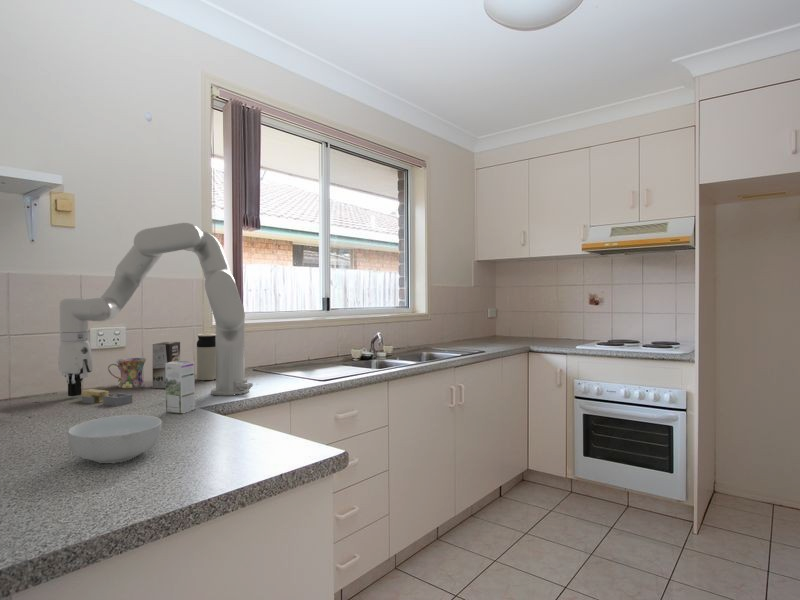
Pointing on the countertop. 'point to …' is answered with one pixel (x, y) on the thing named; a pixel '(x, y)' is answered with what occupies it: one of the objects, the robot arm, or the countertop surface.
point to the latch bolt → (95, 394)
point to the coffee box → (163, 361)
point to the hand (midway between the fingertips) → (74, 395)
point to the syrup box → (180, 386)
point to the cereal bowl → (114, 437)
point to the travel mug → (206, 357)
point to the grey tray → (111, 399)
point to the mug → (130, 372)
